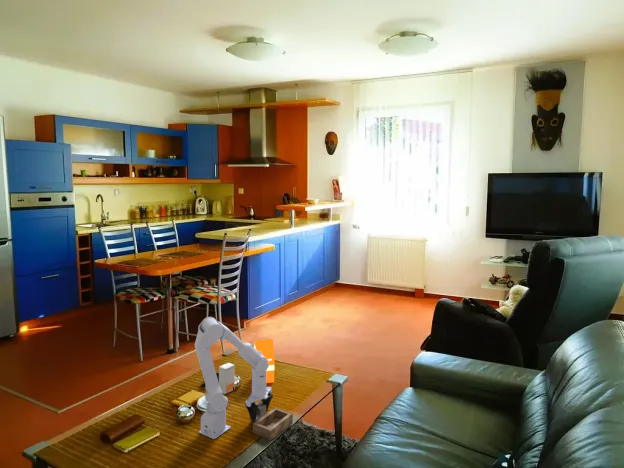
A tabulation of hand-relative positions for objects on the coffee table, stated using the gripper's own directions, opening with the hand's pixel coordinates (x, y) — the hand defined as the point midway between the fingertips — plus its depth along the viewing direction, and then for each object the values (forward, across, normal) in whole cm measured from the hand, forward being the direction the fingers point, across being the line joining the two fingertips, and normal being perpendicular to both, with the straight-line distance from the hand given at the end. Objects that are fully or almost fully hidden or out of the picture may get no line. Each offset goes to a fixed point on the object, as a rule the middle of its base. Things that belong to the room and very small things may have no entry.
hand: (259, 415), depth 189 cm
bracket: (+2, 0, 0) cm, 2 cm away
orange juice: (+2, +29, +20) cm, 35 cm away
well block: (+2, -2, -8) cm, 9 cm away
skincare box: (+2, +11, +27) cm, 29 cm away
